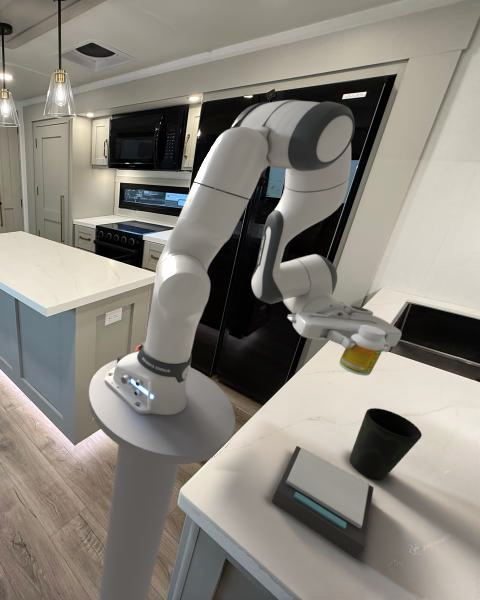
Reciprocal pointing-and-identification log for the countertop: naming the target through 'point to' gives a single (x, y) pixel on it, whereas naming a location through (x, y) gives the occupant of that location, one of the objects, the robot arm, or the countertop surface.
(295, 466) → the kitchen scale
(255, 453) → the countertop surface
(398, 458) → the cup
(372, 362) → the supplement bottle
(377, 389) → the countertop surface
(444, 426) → the countertop surface
